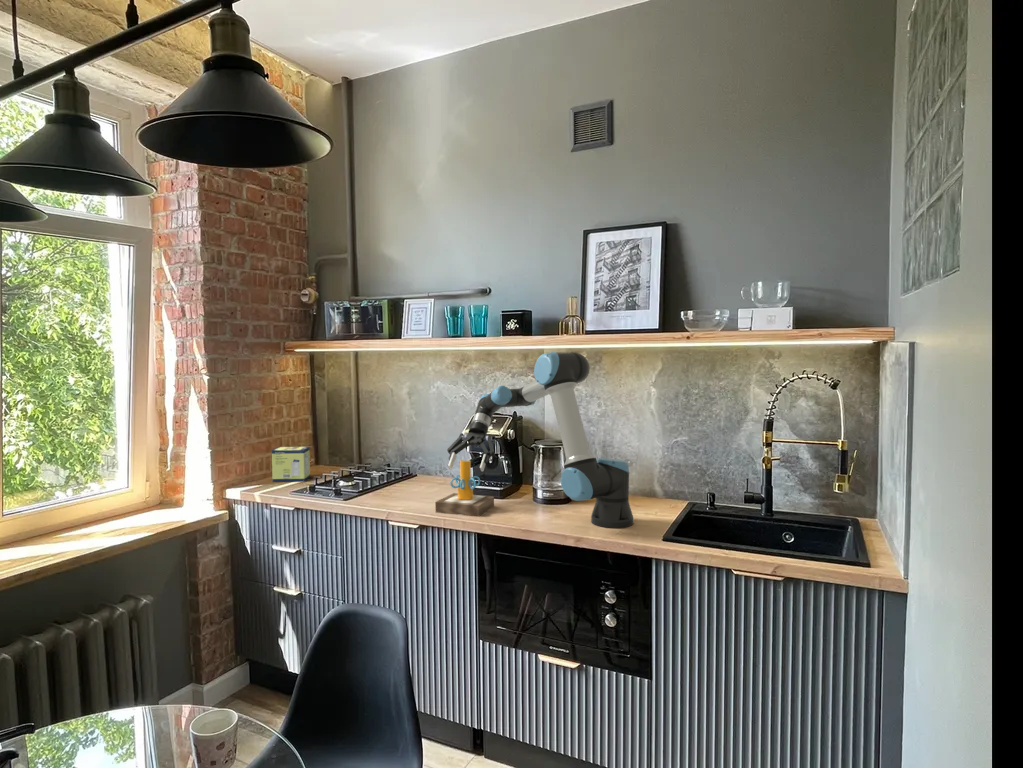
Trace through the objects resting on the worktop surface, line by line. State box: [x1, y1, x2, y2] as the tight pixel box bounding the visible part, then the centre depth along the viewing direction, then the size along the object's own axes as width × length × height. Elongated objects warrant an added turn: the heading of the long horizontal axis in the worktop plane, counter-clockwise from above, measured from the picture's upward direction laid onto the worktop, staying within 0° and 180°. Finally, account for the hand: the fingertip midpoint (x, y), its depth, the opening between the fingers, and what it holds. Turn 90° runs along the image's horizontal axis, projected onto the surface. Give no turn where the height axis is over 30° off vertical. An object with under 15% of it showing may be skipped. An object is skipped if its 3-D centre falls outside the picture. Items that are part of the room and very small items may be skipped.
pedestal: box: [435, 492, 495, 517], centre depth 240 cm, size 18×16×4 cm
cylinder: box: [450, 459, 481, 500], centre depth 240 cm, size 12×10×15 cm
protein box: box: [271, 446, 311, 483], centre depth 297 cm, size 10×16×16 cm
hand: (465, 468), depth 241 cm, fingers open, 13 cm apart
